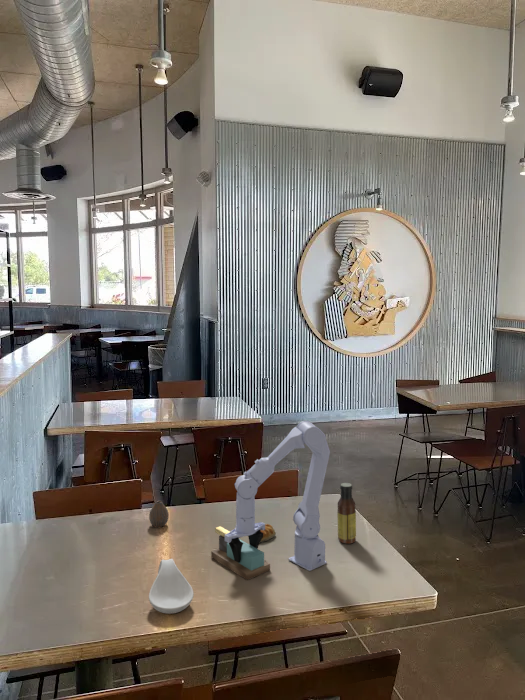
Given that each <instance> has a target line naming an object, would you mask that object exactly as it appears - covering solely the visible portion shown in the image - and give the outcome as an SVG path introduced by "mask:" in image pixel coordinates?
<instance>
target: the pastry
mask: <svg viewBox="0 0 525 700" xmlns="http://www.w3.org/2000/svg"><path fill="white" fill-rule="evenodd" d="M264 524H265V530H261V532H262V533H263V538H262V539H261V541H260V543H262V542H266V541H268V540H271V539H273V538H274V537H275V536H276V533H277V532H276V531H275V528H274V526H273V525H271V524H269V523H264Z"/></svg>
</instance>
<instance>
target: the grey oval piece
mask: <svg viewBox="0 0 525 700" xmlns="http://www.w3.org/2000/svg"><path fill="white" fill-rule="evenodd" d="M148 514H149V515H148V516H149V517H148V519H149V523H150V524H151V525H152V527H154V528H157V527H160V528H162V526H163V527H165V526H166V525H167V523H168V521H169V510H168V508H167V506H165V505H164V503H163V501H161V500H158V501H157V500H156V501H155V503H154V504H153V505H152V507H151V509H150V510H149V513H148Z"/></svg>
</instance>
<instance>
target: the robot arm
mask: <svg viewBox="0 0 525 700" xmlns="http://www.w3.org/2000/svg"><path fill="white" fill-rule="evenodd" d="M305 446H307V447H308V449H309V450H310V451H311V453H312V454H311V459H310V463H309V468H308V472H307V476H306V477H307V478H306V482H305V486H304V490H303V491H304V492H303V496H302V500H301V501H300V502H299V503H298V506H297V509H296V510H295V512H294V513H293V517H292V518H293V519H292V521H293V522H294V525H295V527H296V528H295V530H294V553H293V554H294V555H293V556H290V557H288V561H290V562H292V563H293V564H296V565H297V566H299V567H301V568H304V570H307V571H308V572H311V571H313V570H315V569H317V568H320V567H321V566H323V565H326V564H327V563H328V562H327V561H326V543H325V541H324V540H323V539H322V538H321V537H320V536H319V533H320V532H321V524H320V517H321V514H320V508H319V505H320V501H321V497H322V491H323V488H324V481H325V477H326V472H327V470H328V469H327V468H328V463H329V459H330V455H331V450H330V447H329V443H328V441H327V436H326V434H325V433H324V432H323V431H322V430H321V429H320V428H319V427H318V426H316V425H314V423H313V422H311V421H310V420H302V421H300V422H299V423H298V424H297V425H296V426H294V427H293V428H292V429H291V430H290V431H289V433H288V434H287V435H286V436H285V438H284V439H283V440H282V441H281V442H280V443H279V444H278V445H277V446H276V448H274V449H273V451H272V452H271V453H270V454H269V455H268V456H267V457H261V458H260V459H258V458H256V460H254V463H255V464H253V465H252V466H251V468H249V469H248V470H247V471H244V472H243V475H239V476H238V477H237V478H236V480H235V483H234V488H235V490H236V491H237V492H236V500H235V506H236V507H235V525H234V529H232V530H230V532H229V533H228V534H225V541H226V542H228V543H229V545H230V547H231V550H232V553H233V556H234V560H235V561H236V562H238V563H239V562H240V560H241V549H242V545H243V543H242V542H241V541H240V540H241V538H243V537H248V541H249V543H248V544H250V545H251V546H253V547H255V548H257V549H259V546H260V543H261V542H260V541H261V539H262V538H263V533H262V532H261V530H265V524H266V523H265V522H263V521H260V522H256V517H255V516H256V507H255V506H256V500H255V496H256V495H257V492H258V488H259V487H260V486H261V485H262V484H263V483H264V482H265V481H266V480H267V479H268V478H269V477H270V476H271V475H273V473H274V472H275V466H276V465H277V464H279V462H281V461H283V459H284V458H285V457H286V456H287V455H288V454H290V453H291V452H292V451H294V450H295V449H305V448H306V447H305ZM239 539H240V540H239Z"/></svg>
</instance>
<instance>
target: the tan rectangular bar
mask: <svg viewBox="0 0 525 700" xmlns="http://www.w3.org/2000/svg"><path fill="white" fill-rule="evenodd" d="M214 532H215V534H217V535H218V536H220V535H221V536H222V537H224V538H225V534H228V533H229V532H231V530H228V529H227V528H226V529H225V528H224V527H223V526H221V525H220V526H217V527H215V528H214Z"/></svg>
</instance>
